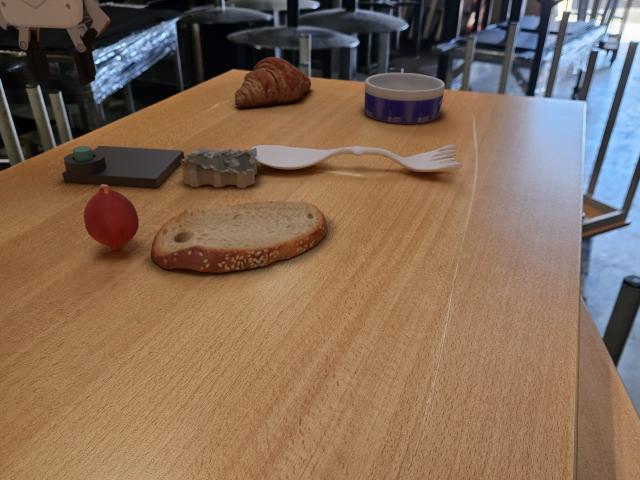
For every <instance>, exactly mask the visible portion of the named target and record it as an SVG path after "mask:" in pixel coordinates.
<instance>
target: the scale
mask: <svg viewBox="0 0 640 480" xmlns="http://www.w3.org/2000/svg"><path fill="white" fill-rule="evenodd" d="M92 152H93V157H94V158H93V159H90V160H86V161H75V158H74V154H73V152H71V153H69V154H67V155H65V156H64V157H63V163H64V167H65V170H64V171H63V172H62V173H61V174H62V178H63V183H74V184H88V185H89V184H90V185H103V184H105V185H108V186H117V187H118V186H120V187H132V188H133V187H135V188H149V189H150V188H151V189H158V188H159V187H160V186H161V185H162V184H163V183H164V182H165V181H166V179H167V178H168V177H170V175H171V174H172V173H173V172H174V171H175V170H176V169H178V167H179V166H180V165H181V163H180V159H185V152H184V150H180V149H163V148H146V147H145V148H144V147H130V146H129V147H128V146H127V147H126V146H110V145H98V146H96V147H95V148H93V149H92Z"/></svg>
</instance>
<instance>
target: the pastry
mask: <svg viewBox="0 0 640 480" xmlns="http://www.w3.org/2000/svg"><path fill="white" fill-rule="evenodd" d="M243 78H244V79H243V82H242V84H241V86H240V87H239V88H237V90H235V93H234V103H235V105H236V106H237V107H238V108H239V109H244V108H245V109H247V108H259V107H268V106H271V105H274V106H276V105H277V106H278V105H284V104H285V105H287V104H291V103H296V102H297V101H299V100H301V99H302V97H303V96H304V95H305V94H307V93H308V92H309V90H311V85H312V82H311V78H310V77H309V75H307V74H306V73H305V72H303V71H301V70H300V69H299V68H297V67H296V66H294V65H293V64H292V63H291V62H289V61H287V60H286V59H284V58H282V57H278V56H277V57H276V56H269V57H268V56H267V57H265V58H263V59H261V60H260V61H257V63H256V64H255V65H254V66H253V70H252V71H249V72H248V73H246V74H245V75H244V77H243Z"/></svg>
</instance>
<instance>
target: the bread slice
mask: <svg viewBox="0 0 640 480" xmlns="http://www.w3.org/2000/svg"><path fill="white" fill-rule="evenodd" d="M327 231H328V223H327V221H326V217H325V214H324V213H323V211H321V210H320V208H319V207H318V206H317V205H315V204H313V203H311V202H307V201H305V200H285V199H284V200H276V201H273V200H270V201H269V200H265V201H253V202H243V203H236V204H228V205H221V206H213V207H207V208H195V209H191V210H188V209H185V210H182V211H181V212H179V214H177V215H175V216H172V217H171V218H169V219H168V220H167V221H166V222H165V223H164V224H163V225H161V227H160V228H159V230H158V231H157V232H156V234H155V235H154V237H153V239H152V244H151V248H150V259H151V261H152V262H154V263H156V264H157V265H158V266H160V267H161V268H162V269H165V270H174V269H180V270H181V269H182V270H191V271H195V272H201V273H213V274H214V273H220V274H221V273H226V272H232V271H242V270H249V269H254V268H260V267H266V266H268V265H270V264H272V263H274V262H278V261H281V260H288V259H290V258H293V257H295V256H299V255H301V254H303V253H304V252H306V251H307V250H309V249H311V248H313V247H315V246H316V245H317V244H318V243H319V242H320V241H322V239H323V238H324V237H325V236H326V233H327Z"/></svg>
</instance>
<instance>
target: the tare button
mask: <svg viewBox="0 0 640 480" xmlns="http://www.w3.org/2000/svg"><path fill="white" fill-rule="evenodd" d="M92 151H93V148H92V147H91V146H88V145H79V146H76V147H73V148H72V153H73V154H74V158H75V161H86V160H90V159H93V158H94V157H93V152H92Z"/></svg>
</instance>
